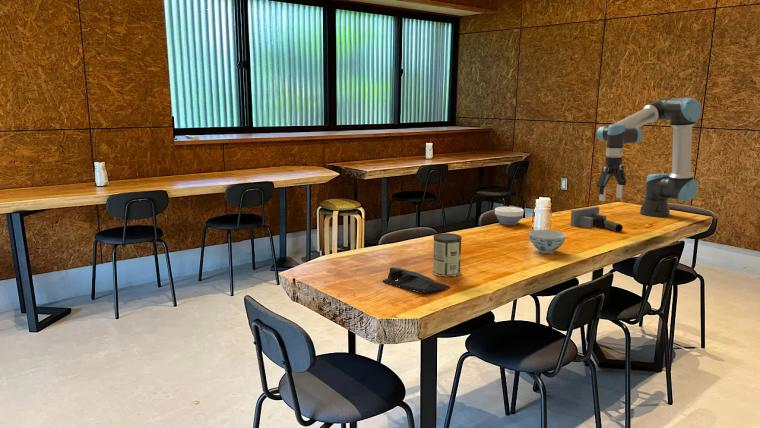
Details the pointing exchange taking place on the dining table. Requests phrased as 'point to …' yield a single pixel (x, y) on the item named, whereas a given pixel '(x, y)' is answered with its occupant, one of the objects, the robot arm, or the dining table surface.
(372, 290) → the dining table surface
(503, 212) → the bowl
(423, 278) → the black cloth
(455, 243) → the coffee can
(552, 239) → the chinaware
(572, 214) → the socket block
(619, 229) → the black flashlight
